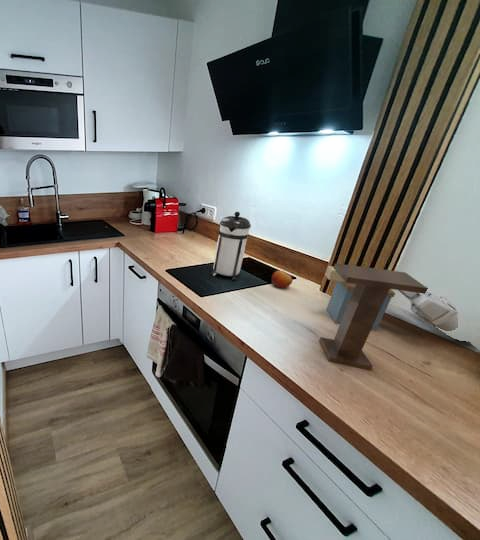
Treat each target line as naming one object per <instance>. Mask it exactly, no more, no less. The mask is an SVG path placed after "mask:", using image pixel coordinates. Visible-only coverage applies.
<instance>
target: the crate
mask: <svg viewBox="0 0 480 540" xmlns="http://www.w3.org/2000/svg"><path fill="white" fill-rule="evenodd" d="M355 286H356V284H354V283H347V282H341V281H335V286H334V288H333V290H332V293H331V296H330V299H329V301H328V304H327V307H326V311H327V313H328V315H329V316H330V318H331V319H332V322H334V323H333V324H338V325H340V323H341V321H342V318H343V316H344V313H345V311H346V308H347V306H348V303H349V301H350V298H351V296H352V293H353V291H354V288H355ZM395 295H396V292H395V291H394V290H393V289H389V292H388V294H387V296H386V298H385V300H384V303H383V305H382V307H381V309H380V311H379V313H378V316H377V318H376V320H375V322H374V324H373V327H372V329H371V331H377V330H378V328H379V325H380V323H381V321H382V320H383V317H384V316H385V315H384V314H385V312H386V310H387V308H388V307H389V304H390V302H391V300H392V298H394V297H395Z"/></svg>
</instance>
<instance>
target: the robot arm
mask: <svg viewBox="0 0 480 540" xmlns="http://www.w3.org/2000/svg"><path fill="white" fill-rule="evenodd" d="M397 291H398V292H399V294H401V295H403V297H405V298H407V299H408V300H409V301H410V310H411V312H412V313H413V314H415V315H416V316H417V317H419V318H421V319H422V320H423V321H425V322H427V323H428V324H430V325H432V326H433V325H435V326H436V327H438V328H440V329H442V330H445V331H452V330H455V329H456V328H458V316H457V314H458V312H457V310H456V308H455V307H454V306H453V304H452V303H451V302H450V301H449V300H448V299H447V298H445V297H444V296H442V295H441V294H439V293H436V294H432V293H429V292H426V293H425V294H423V293H416V292H409V291H402V290H397Z"/></svg>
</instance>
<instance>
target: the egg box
mask: <svg viewBox="0 0 480 540" xmlns="http://www.w3.org/2000/svg"><path fill="white" fill-rule="evenodd" d="M324 275H325V277H326V278H327V280H328V281H335V282H337V281H341V282H345V281H344V280H343V279H342V277H341V276H340V275H339V274H338V273H337V272H336V270H335V269H334V266H332V265H328V266H327V267H326V271H325V273H324ZM347 283H348V282H347ZM354 284H355V283H354Z"/></svg>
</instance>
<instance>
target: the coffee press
mask: <svg viewBox="0 0 480 540" xmlns="http://www.w3.org/2000/svg"><path fill="white" fill-rule="evenodd" d="M240 215H241V212H239V211H235V212H234V215H229V216H228V215H227V216H225V217H223V218H222V220H220V222H219V225H220V227H219V229H218V238H217V243H216V248H215V249H216V250H215V254H214V261H213V267H212V269H213V270H212V271H211V273H210V275H211V276H212V277H215V276H216V275H217V274H219V275H221V276H225V277H230V279H231V281H233V282H234V281H235V282H236V281H237V276H238V275H239V274H241V269H242V264H243V260H244V256H245V250H246V246H247V241H248V238H249V235H250V233H249V232H250V229H251V227H252V224H251V222H250V220H249V219H248V218H246V217H243V216H240Z"/></svg>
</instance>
